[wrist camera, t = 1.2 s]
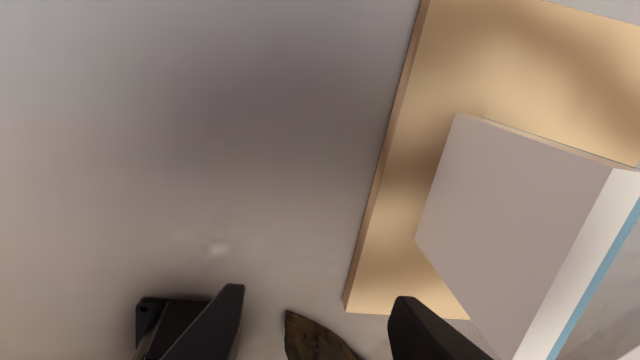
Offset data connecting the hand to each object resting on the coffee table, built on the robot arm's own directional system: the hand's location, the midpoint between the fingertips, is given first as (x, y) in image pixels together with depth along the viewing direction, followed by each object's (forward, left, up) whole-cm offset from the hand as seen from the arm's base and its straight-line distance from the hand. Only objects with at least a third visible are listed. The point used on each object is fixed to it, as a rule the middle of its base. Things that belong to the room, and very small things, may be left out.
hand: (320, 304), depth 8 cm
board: (0, -13, -12) cm, 18 cm away
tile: (0, -9, -11) cm, 14 cm away
